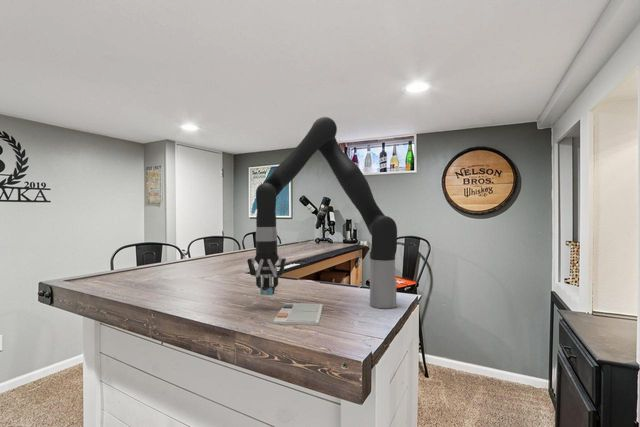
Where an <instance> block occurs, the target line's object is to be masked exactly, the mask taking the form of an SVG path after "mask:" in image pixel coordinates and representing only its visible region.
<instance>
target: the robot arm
mask: <svg viewBox="0 0 640 427" xmlns="http://www.w3.org/2000/svg"><path fill="white" fill-rule="evenodd" d="M337 130H338V127H337V123H336V121H335V120H333V119H332V118H330V117H328V116H323V117H320V118H317V119H316V120H315V121H314V122H313V124H312V126H311V127H310V129H309V131H308V132H307V133H306V135H305V136H304V138H303V139H302V140H301V141H300V142H299V144H298V145H297V146H296V147H295V148H294V149H293V150H292V151H291V152H290V153H289V154H288V155H287V157H285V158H284V159H283V161H282V162H280V163H279V165H278V166H277V167H276V168H275V169H274V170H273V172H271V175H270V176H269V177H268V178H266V179H265V181H264V182H263V183H261V184H259V185H258V186H257V188H256V190H255V198H256V199H255V201H256V218H255V219H256V223H255V224H256V226H255V227H256V229H255V256H254V257H250V258H248V259H247V261H246V262H247V265H248V269H249V273H250V275H251V276H252V277H253V276H254V278H255V285H256V287H257V288H258V289H260V288H261V287H262V274H260V270H262V269H261V268H262V267H269V268H270V269H271V271H272V273H273V274H272V285H273V287H274V288H277V287H278V286H279V277H280V276H282V275H283V274H284V273H285V272H284V271H285V267H286V263H287V262H286V261H287V258H285V257H279V255H278V231H277V214H276V209H277V197H278V195H279V194H280V193H281V192H282V191H283V189H284V188H286V186H288V185H289V183H291V182H292V181H293V179H294V178H296V177H297V175H298V174H299V173H300V172H301V170H302V169H303V168H304V167H305V165H307V162H308V161H309V160H310V159H311V157H313V155H314V154H315V153H316V152H317V151H319V152H320V153H321V155H322V156H323V157H324V158H325V160H326V161H327V164H328V165H329V167H330V169H331V170H332V171H331V172H332V173H333V174H334V176H335V178H336V180H337V181H338V184H340V186H341V189H343V191H344V193H345V194H346V196H347V197H348V199H349V200H350V201H351V203H352V204H353V205H354V207H355V208H356V209H357V211H358V212H359V214H360V216H361V218H362V219H363V221H364V224H365V226H366V227H367V230H368V232H369V234H370V235H371V248H370V252H369V305H370V306H371V307H373V308H376V309H393V308H394V309H395V308H397V281H396V253H397V250H398V227H397V223H396V222H395V220H394V219H393V218H391V217H390V216H387V215H386V214H384V212H383V211H382V210H381V208H380V207H379V206H378V204H377V202H376V200H375V199H374V195H373V193H372V190H371V187H370V184H369V182H368V180H367V179H366V176H365V175H364V173H363V172H362V170H361V169H360V167H359V166H358V164H356V163H355V162H354V161H353V160H352V159H351V158H350V157H349V156H348V155H347V154H346V153H345V152H344V151H343V150H342V148H341V146H340V144H339V142H338V141H337V138H336V136H337V132H338V131H337ZM277 262H278V264H279V265H280V266H279V270H277V269H278V268H277V265H276V264H277ZM255 263H257V265H258V266H257V269H255V268H256V267H255Z"/></svg>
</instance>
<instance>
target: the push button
mask: <svg viewBox="0 0 640 427" xmlns="http://www.w3.org/2000/svg"><path fill="white" fill-rule="evenodd" d="M261 269H262V270H260V274H261V287H260V288H259V289H260V295H262V296H263V295H264V296H272V295H274V294H275V295H276V294H278V290H276V289H275V288H274V287H273V273H272V271H271V269H270V268H269V267H262V268H261Z"/></svg>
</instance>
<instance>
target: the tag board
mask: <svg viewBox="0 0 640 427" xmlns="http://www.w3.org/2000/svg"><path fill="white" fill-rule="evenodd" d="M323 307H324V304H323V303H305V302H304V303H302V302H301V303H298V302H296V303H293V302H291V303H290V302H285V303H284V304H283V306H282V308H281V309H280V311H279V312H278V313H277V315H276V317H275V318H274V319H273V321H272V324H273V325H295V326H296V325H300V326H301V325H304V326H320V320H321V316H322V313H323Z"/></svg>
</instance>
